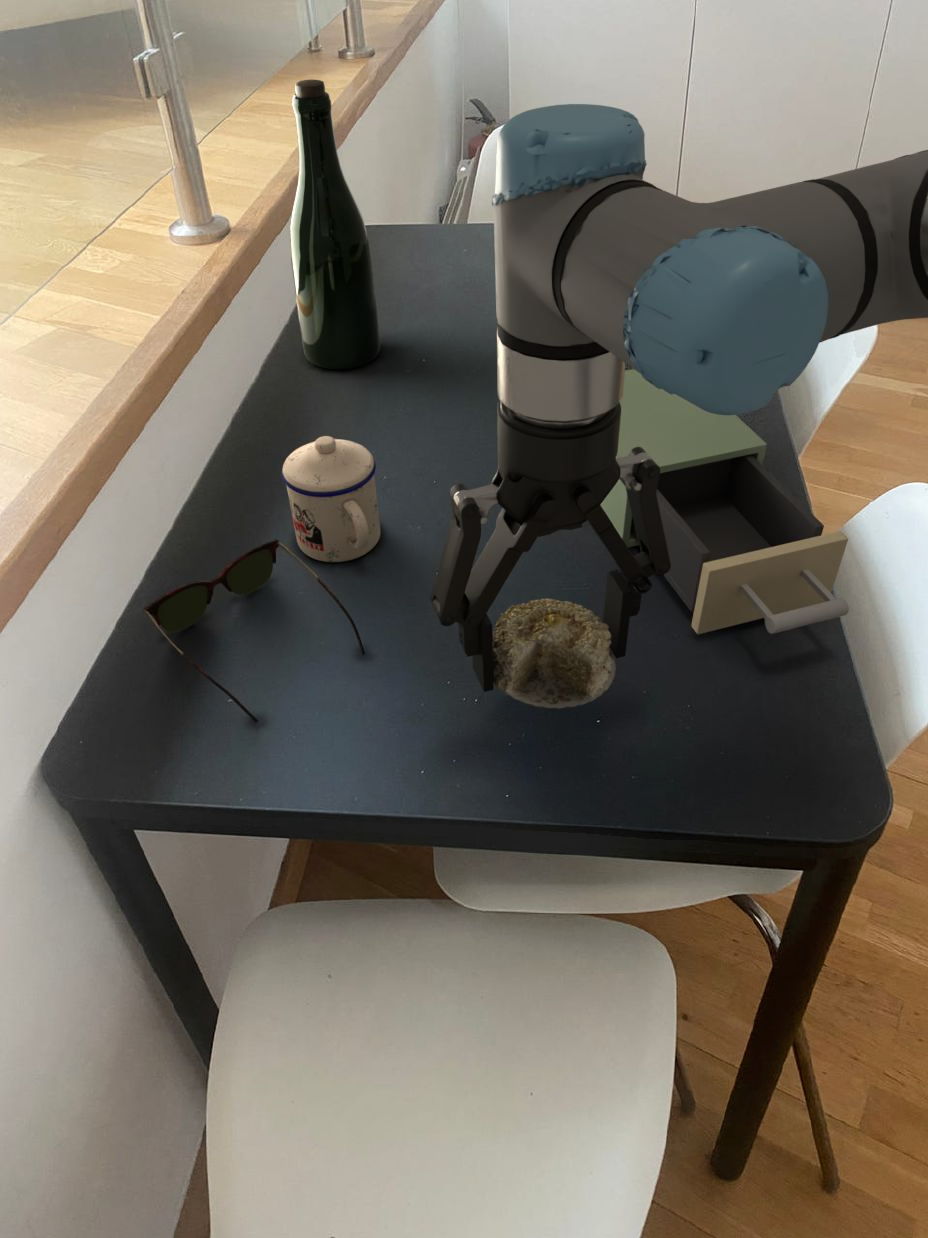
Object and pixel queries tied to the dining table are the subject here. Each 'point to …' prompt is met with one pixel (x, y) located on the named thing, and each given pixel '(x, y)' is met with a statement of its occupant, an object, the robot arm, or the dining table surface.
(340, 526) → the teacup with lid
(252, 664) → the dining table surface
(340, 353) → the green wine bottle
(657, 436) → the green drawer box
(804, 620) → the pull-out drawer
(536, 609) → the cake
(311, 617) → the dining table surface
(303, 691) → the dining table surface
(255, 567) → the sunglasses
